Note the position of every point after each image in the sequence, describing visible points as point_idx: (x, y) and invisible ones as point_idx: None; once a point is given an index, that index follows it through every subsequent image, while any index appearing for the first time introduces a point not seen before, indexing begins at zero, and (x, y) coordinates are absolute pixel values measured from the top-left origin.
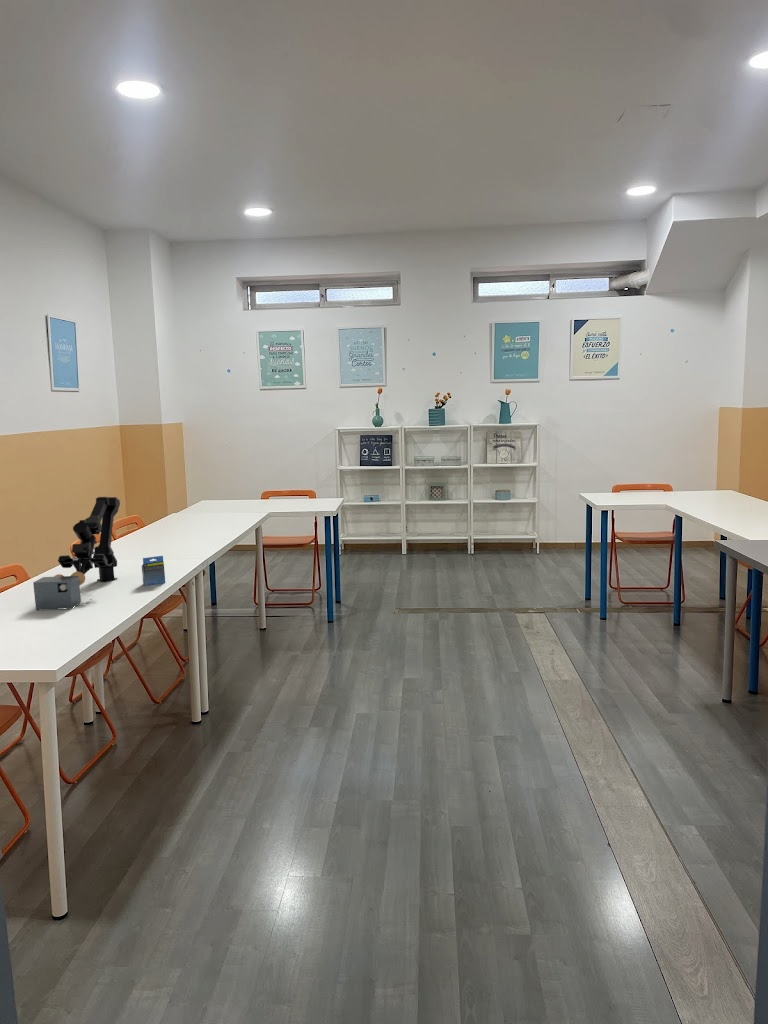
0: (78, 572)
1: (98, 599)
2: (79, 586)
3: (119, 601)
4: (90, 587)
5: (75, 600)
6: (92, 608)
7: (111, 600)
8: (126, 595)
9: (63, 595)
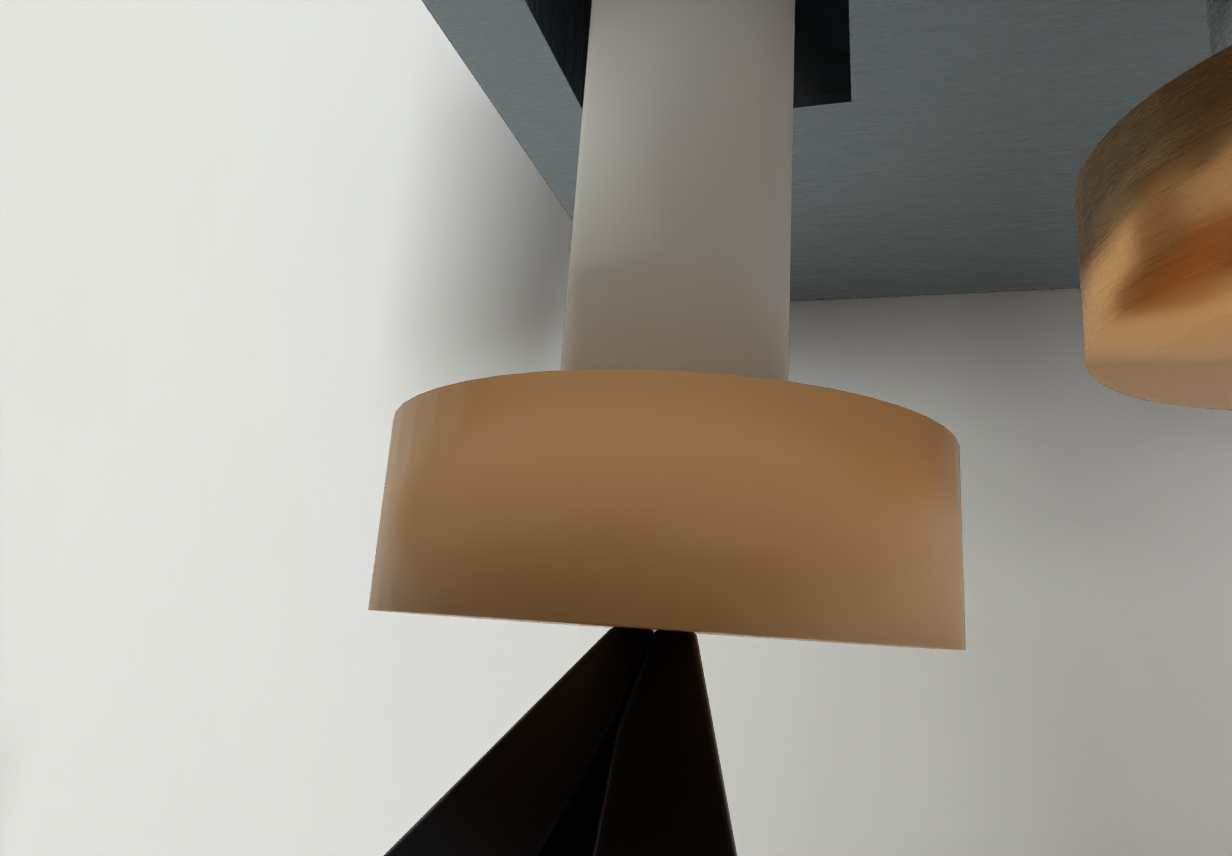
0: (485, 412)
1: None
2: (516, 126)
3: (96, 334)
4: None
5: None
6: (376, 9)
7: (199, 402)
8: (25, 686)
9: None
